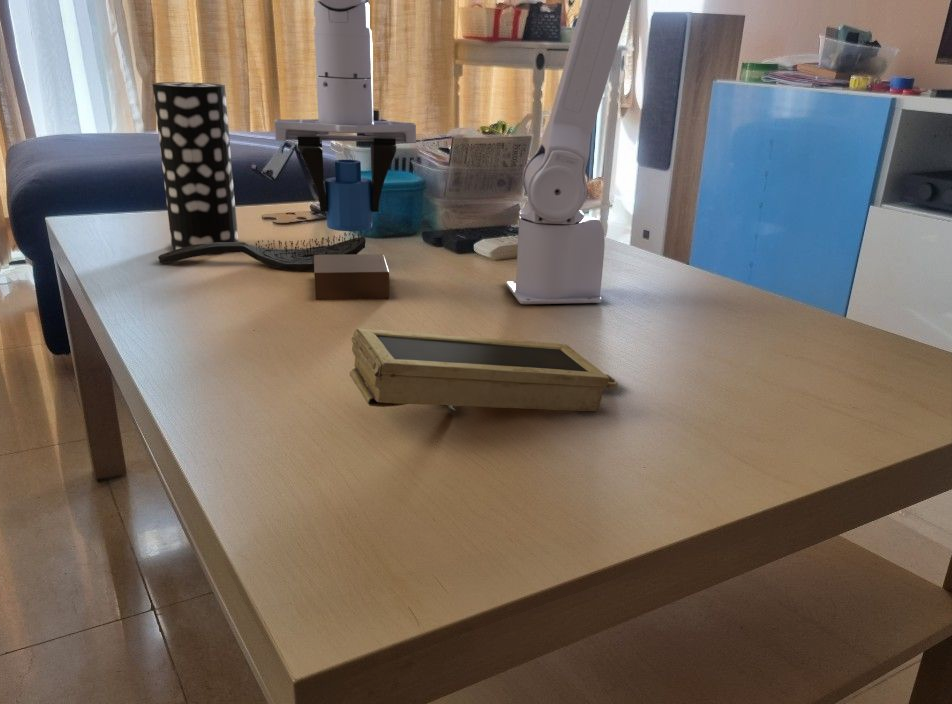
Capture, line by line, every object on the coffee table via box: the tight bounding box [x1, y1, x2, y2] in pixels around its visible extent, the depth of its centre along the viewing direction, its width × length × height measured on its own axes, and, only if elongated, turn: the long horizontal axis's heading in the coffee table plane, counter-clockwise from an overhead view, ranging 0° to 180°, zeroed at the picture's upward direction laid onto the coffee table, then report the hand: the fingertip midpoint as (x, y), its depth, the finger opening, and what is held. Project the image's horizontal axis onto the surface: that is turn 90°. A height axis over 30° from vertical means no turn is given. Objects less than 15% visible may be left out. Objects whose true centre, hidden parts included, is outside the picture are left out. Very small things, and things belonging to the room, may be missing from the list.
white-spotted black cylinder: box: [152, 81, 239, 255], centre depth 106 cm, size 8×8×20 cm
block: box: [313, 253, 391, 301], centre depth 95 cm, size 8×8×3 cm
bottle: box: [324, 158, 373, 232], centre depth 91 cm, size 5×5×7 cm
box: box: [349, 327, 619, 412], centre depth 66 cm, size 8×22×5 cm, turn 114°
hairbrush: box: [158, 231, 367, 272], centre depth 103 cm, size 8×4×25 cm
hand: (348, 210), depth 91 cm, fingers closed on bottle, 5 cm apart
